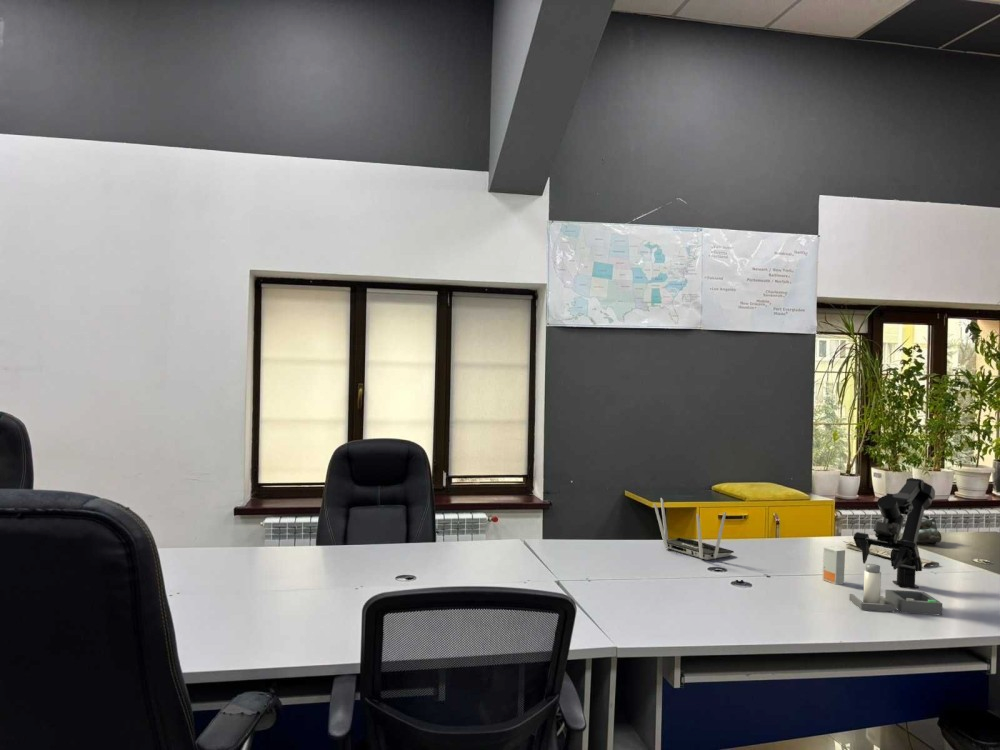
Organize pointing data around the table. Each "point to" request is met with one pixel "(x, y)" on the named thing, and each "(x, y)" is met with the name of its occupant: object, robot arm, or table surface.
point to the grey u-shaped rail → (873, 604)
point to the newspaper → (885, 553)
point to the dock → (914, 602)
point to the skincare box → (833, 565)
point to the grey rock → (927, 531)
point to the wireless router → (690, 545)
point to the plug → (872, 584)
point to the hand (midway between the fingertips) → (878, 565)
